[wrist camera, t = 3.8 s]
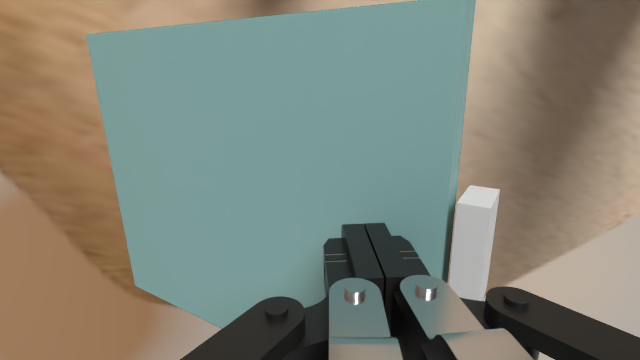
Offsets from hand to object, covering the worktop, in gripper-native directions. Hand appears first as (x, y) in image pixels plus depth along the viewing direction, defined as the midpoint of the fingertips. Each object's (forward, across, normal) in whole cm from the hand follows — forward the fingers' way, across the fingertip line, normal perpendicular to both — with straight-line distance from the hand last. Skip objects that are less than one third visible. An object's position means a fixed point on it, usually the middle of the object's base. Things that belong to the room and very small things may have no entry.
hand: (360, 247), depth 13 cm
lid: (+6, +4, 0) cm, 7 cm away
